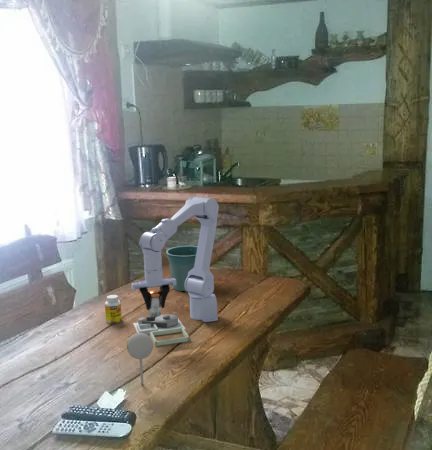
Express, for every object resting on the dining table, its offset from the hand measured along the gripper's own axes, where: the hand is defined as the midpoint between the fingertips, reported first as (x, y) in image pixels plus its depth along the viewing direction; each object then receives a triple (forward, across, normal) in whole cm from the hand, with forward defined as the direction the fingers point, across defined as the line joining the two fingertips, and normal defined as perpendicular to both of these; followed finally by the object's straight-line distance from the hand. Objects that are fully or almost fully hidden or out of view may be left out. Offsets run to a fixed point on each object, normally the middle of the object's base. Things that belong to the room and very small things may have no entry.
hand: (155, 308), depth 200 cm
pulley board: (+10, -2, -7) cm, 12 cm away
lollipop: (+10, +11, +32) cm, 36 cm away
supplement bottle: (+10, +12, -18) cm, 24 cm away
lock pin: (+2, 0, 0) cm, 3 cm away
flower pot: (+10, -23, -48) cm, 55 cm away
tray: (+10, -3, +5) cm, 12 cm away
